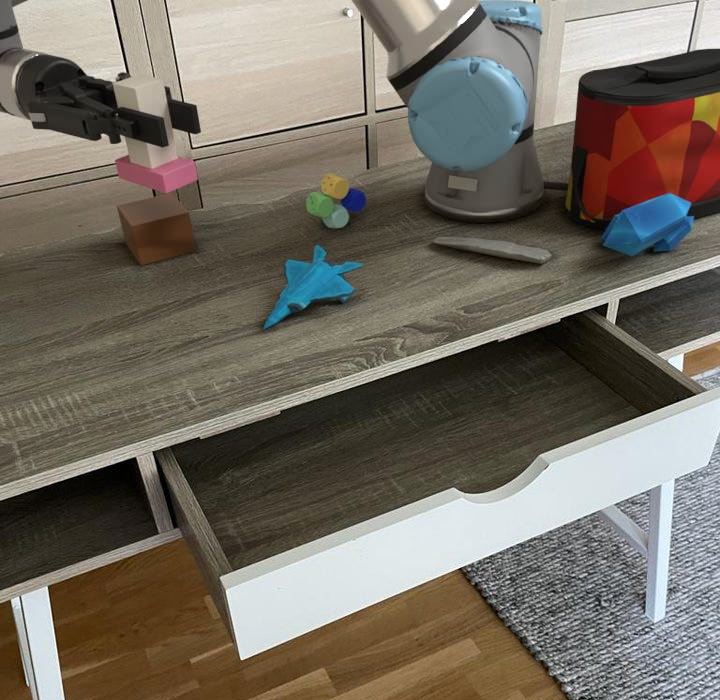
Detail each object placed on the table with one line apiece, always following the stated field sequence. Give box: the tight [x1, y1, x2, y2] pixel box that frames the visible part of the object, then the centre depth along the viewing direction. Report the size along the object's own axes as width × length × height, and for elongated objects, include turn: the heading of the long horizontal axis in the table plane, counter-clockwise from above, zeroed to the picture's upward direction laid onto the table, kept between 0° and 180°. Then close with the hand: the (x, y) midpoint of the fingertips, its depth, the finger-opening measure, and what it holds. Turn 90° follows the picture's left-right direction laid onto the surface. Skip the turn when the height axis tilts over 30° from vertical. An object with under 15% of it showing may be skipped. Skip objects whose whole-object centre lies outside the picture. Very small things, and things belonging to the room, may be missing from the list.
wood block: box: [116, 192, 197, 266], centre depth 105 cm, size 7×7×5 cm
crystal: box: [600, 193, 694, 257], centre depth 97 cm, size 7×9×12 cm
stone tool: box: [432, 236, 552, 265], centre depth 101 cm, size 14×1×5 cm
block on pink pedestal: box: [113, 73, 199, 194], centre depth 90 cm, size 8×4×10 cm, turn 50°
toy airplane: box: [262, 243, 365, 330], centre depth 93 cm, size 12×10×4 cm
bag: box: [564, 48, 720, 230], centre depth 104 cm, size 30×14×16 cm, turn 114°
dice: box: [305, 173, 367, 230], centre depth 107 cm, size 8×3×6 cm, turn 127°
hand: (179, 126), depth 86 cm, fingers closed on block on pink pedestal, 4 cm apart
